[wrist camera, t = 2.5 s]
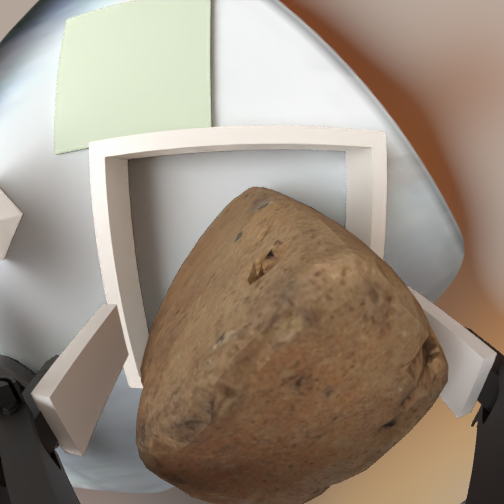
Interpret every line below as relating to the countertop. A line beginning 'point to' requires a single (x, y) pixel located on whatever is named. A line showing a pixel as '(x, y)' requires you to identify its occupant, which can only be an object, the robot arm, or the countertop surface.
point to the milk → (7, 222)
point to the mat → (133, 72)
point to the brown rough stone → (281, 359)
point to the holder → (209, 140)
